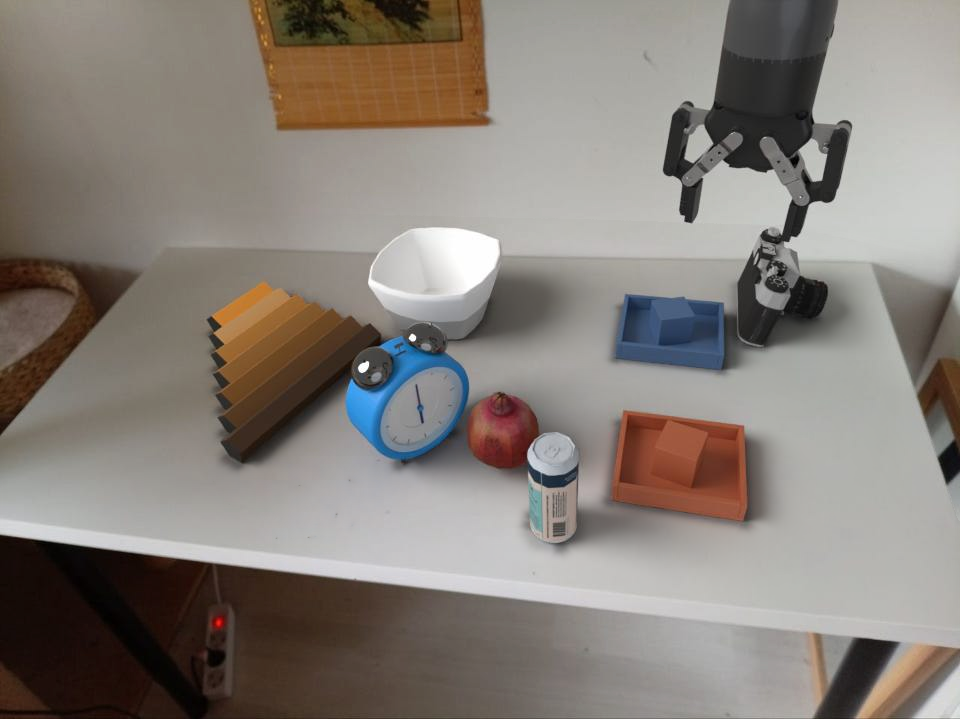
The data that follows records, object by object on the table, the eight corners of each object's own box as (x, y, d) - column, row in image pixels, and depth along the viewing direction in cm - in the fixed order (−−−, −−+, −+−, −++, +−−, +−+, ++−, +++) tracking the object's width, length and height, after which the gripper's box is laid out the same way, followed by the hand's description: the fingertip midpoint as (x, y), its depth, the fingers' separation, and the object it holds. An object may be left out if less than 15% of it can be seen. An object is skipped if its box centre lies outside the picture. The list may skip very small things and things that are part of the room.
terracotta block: (703, 459, 75) (708, 432, 72) (691, 488, 72) (697, 461, 69) (663, 446, 76) (667, 419, 74) (650, 474, 74) (654, 447, 71)
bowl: (413, 272, 108) (404, 220, 102) (519, 288, 103) (517, 234, 96) (360, 341, 96) (347, 285, 89) (479, 363, 90) (473, 306, 84)
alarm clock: (384, 482, 76) (358, 383, 66) (355, 451, 80) (328, 354, 70) (475, 424, 82) (464, 326, 72) (445, 398, 86) (431, 301, 76)
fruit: (544, 434, 80) (543, 371, 73) (535, 489, 74) (533, 425, 67) (476, 429, 81) (469, 366, 75) (463, 482, 75) (454, 418, 69)
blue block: (680, 322, 93) (684, 296, 90) (690, 342, 90) (695, 315, 87) (648, 326, 93) (651, 299, 90) (657, 346, 89) (661, 319, 87)
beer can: (585, 519, 70) (588, 440, 63) (562, 553, 67) (563, 475, 60) (544, 500, 73) (543, 421, 65) (521, 532, 70) (517, 454, 62)
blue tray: (720, 316, 94) (723, 302, 92) (721, 370, 86) (724, 355, 84) (623, 307, 97) (625, 293, 95) (615, 358, 89) (616, 343, 87)
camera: (813, 361, 88) (851, 300, 81) (729, 339, 89) (759, 278, 82) (804, 295, 98) (836, 237, 91) (729, 277, 100) (755, 218, 93)
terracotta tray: (740, 440, 77) (744, 425, 75) (743, 521, 69) (747, 506, 67) (621, 424, 80) (623, 409, 78) (611, 500, 72) (612, 485, 70)
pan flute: (245, 465, 79) (383, 346, 94) (236, 445, 77) (379, 326, 92) (121, 391, 91) (262, 295, 106) (110, 372, 89) (256, 277, 104)
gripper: (667, 46, 52) (648, 232, 63) (873, 64, 46) (813, 266, 57) (695, 19, 57) (673, 196, 67) (885, 32, 51) (828, 224, 61)
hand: (737, 228), depth 62 cm, fingers open, 8 cm apart
